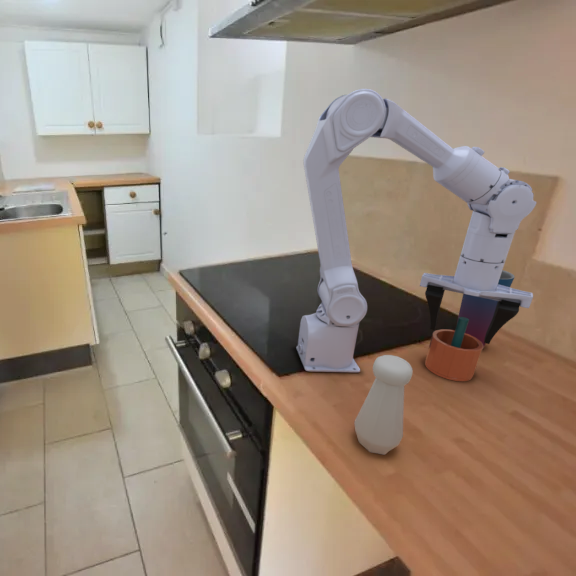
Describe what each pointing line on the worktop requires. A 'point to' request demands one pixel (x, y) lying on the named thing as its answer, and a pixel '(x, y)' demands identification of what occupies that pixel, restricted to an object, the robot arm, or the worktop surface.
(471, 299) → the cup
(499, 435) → the worktop surface
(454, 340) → the straw
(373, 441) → the salt shaker
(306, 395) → the worktop surface
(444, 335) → the orange round pot
